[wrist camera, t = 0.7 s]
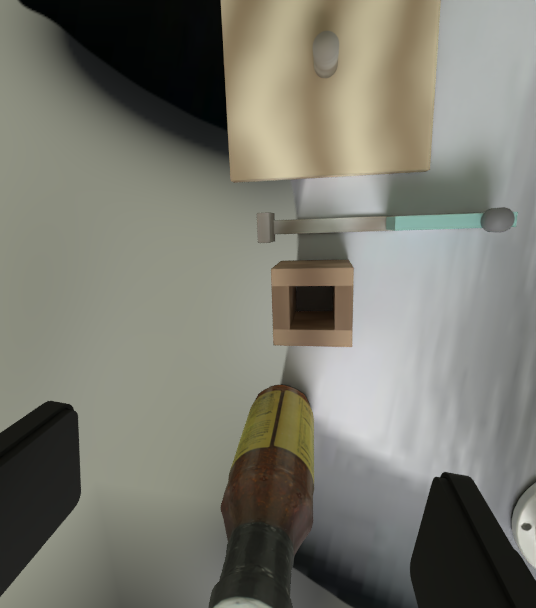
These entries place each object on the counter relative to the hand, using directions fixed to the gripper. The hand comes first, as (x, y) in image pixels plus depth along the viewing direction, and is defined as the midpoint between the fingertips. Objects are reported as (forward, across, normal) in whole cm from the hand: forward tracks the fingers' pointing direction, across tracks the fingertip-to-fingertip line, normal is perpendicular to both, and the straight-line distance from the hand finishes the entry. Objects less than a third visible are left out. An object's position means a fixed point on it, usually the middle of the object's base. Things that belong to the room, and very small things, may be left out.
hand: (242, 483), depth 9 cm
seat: (+24, -3, -16) cm, 29 cm away
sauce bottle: (+24, 0, +12) cm, 27 cm away
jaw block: (+24, -2, 0) cm, 24 cm away
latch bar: (+24, -11, -7) cm, 27 cm away
